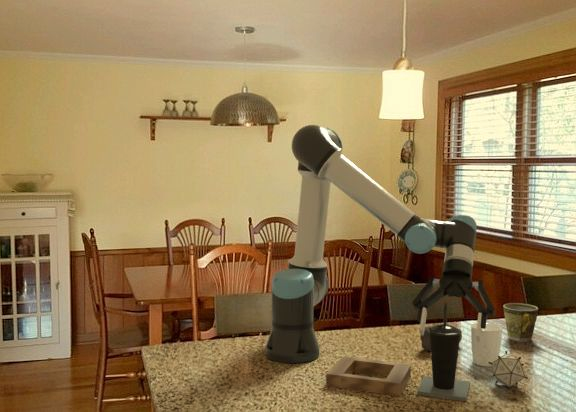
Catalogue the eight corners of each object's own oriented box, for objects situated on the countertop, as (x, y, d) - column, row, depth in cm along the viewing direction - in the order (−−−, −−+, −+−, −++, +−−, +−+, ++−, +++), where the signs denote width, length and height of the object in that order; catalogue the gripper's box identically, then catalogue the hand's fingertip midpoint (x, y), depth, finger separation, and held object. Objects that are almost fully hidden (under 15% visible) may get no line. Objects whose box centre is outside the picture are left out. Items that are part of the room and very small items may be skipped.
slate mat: (417, 394, 141) (417, 391, 141) (424, 378, 151) (424, 375, 151) (466, 401, 137) (466, 398, 137) (470, 384, 147) (470, 381, 147)
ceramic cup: (498, 333, 191) (499, 302, 190) (530, 334, 190) (531, 303, 190) (511, 346, 178) (512, 313, 177) (546, 346, 177) (547, 313, 177)
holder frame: (326, 385, 146) (326, 373, 146) (342, 367, 159) (342, 356, 159) (400, 396, 140) (400, 383, 139) (410, 376, 153) (410, 364, 152)
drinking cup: (437, 393, 139) (438, 308, 138) (421, 381, 147) (423, 300, 145) (466, 390, 141) (468, 306, 140) (449, 378, 149) (451, 299, 147)
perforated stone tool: (456, 343, 180) (456, 321, 180) (467, 348, 176) (468, 325, 175) (413, 349, 175) (414, 326, 174) (424, 354, 170) (424, 330, 169)
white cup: (502, 368, 158) (503, 331, 158) (471, 366, 160) (472, 329, 159) (498, 359, 166) (499, 323, 165) (468, 357, 168) (469, 322, 167)
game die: (502, 398, 148) (498, 358, 154) (535, 393, 143) (531, 353, 148) (484, 387, 143) (481, 347, 148) (518, 383, 138) (514, 341, 143)
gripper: (507, 276, 159) (503, 349, 146) (413, 270, 168) (401, 337, 156) (507, 260, 154) (502, 333, 141) (409, 254, 163) (396, 322, 151)
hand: (449, 335), depth 148 cm, fingers open, 13 cm apart
